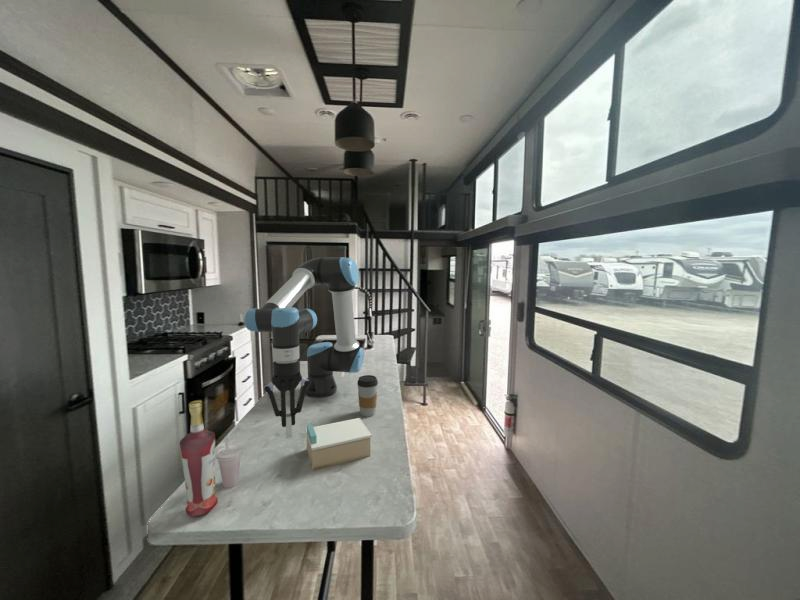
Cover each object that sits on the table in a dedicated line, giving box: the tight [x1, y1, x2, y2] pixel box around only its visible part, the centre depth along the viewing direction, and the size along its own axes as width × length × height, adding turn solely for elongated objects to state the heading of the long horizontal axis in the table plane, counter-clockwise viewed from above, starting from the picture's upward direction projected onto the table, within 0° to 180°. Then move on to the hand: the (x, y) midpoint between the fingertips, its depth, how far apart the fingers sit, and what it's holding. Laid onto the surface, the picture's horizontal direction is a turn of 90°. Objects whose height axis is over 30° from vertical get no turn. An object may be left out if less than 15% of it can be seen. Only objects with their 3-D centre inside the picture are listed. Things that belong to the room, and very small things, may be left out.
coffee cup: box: [357, 374, 379, 418], centre depth 134 cm, size 8×8×15 cm
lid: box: [304, 417, 373, 451], centre depth 106 cm, size 13×19×3 cm
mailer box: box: [305, 435, 371, 471], centre depth 106 cm, size 12×18×6 cm, turn 115°
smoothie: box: [215, 435, 243, 489], centre depth 91 cm, size 6×6×14 cm
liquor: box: [179, 399, 219, 517], centre depth 80 cm, size 7×7×28 cm
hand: (288, 435), depth 99 cm, fingers closed
